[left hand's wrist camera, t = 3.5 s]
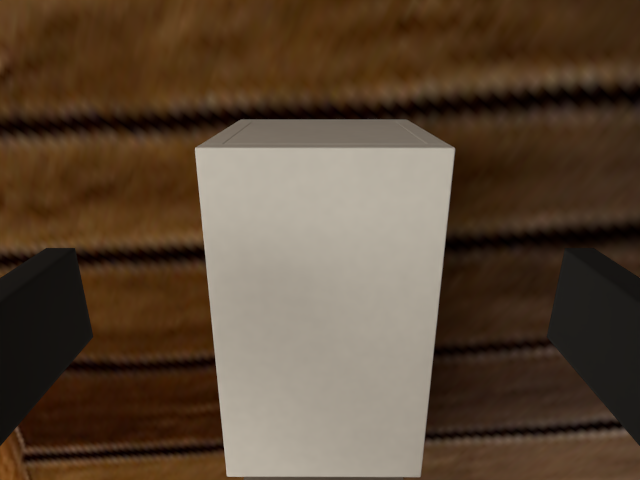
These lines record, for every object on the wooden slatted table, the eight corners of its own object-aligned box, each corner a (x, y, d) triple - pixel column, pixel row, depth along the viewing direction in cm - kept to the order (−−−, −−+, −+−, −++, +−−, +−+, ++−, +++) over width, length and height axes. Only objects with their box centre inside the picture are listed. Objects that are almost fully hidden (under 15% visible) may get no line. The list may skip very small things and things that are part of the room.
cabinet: (391, 357, 33) (421, 477, 23) (254, 357, 33) (226, 477, 23) (407, 119, 27) (455, 147, 17) (239, 119, 27) (194, 147, 17)
